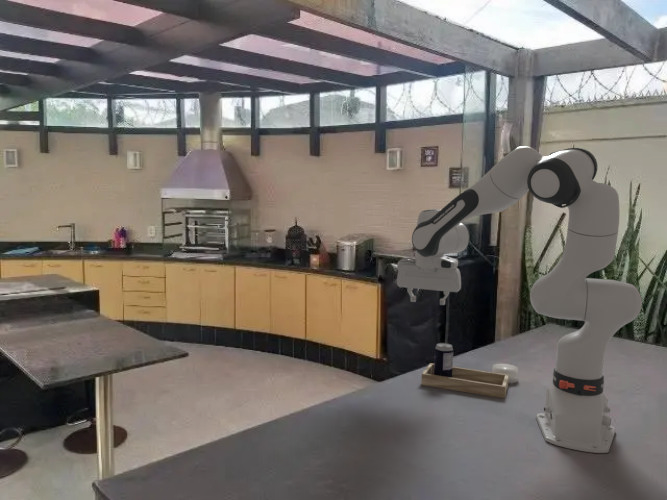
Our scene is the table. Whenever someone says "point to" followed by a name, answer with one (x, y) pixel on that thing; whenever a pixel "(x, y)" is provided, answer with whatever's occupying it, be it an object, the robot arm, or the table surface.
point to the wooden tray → (468, 381)
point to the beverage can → (443, 360)
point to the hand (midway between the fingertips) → (427, 303)
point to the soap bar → (507, 371)
